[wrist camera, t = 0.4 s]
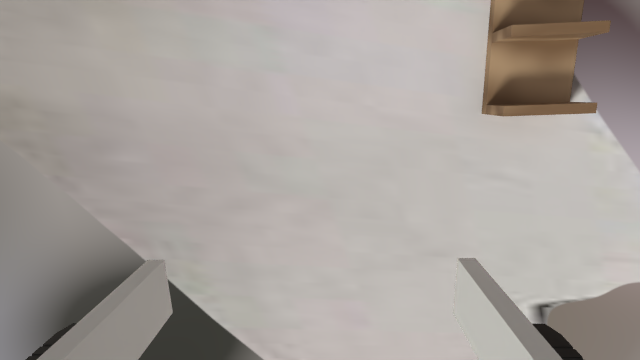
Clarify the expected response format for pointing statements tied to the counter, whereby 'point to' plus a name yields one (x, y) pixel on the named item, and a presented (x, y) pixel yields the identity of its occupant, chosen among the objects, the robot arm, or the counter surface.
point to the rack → (535, 57)
